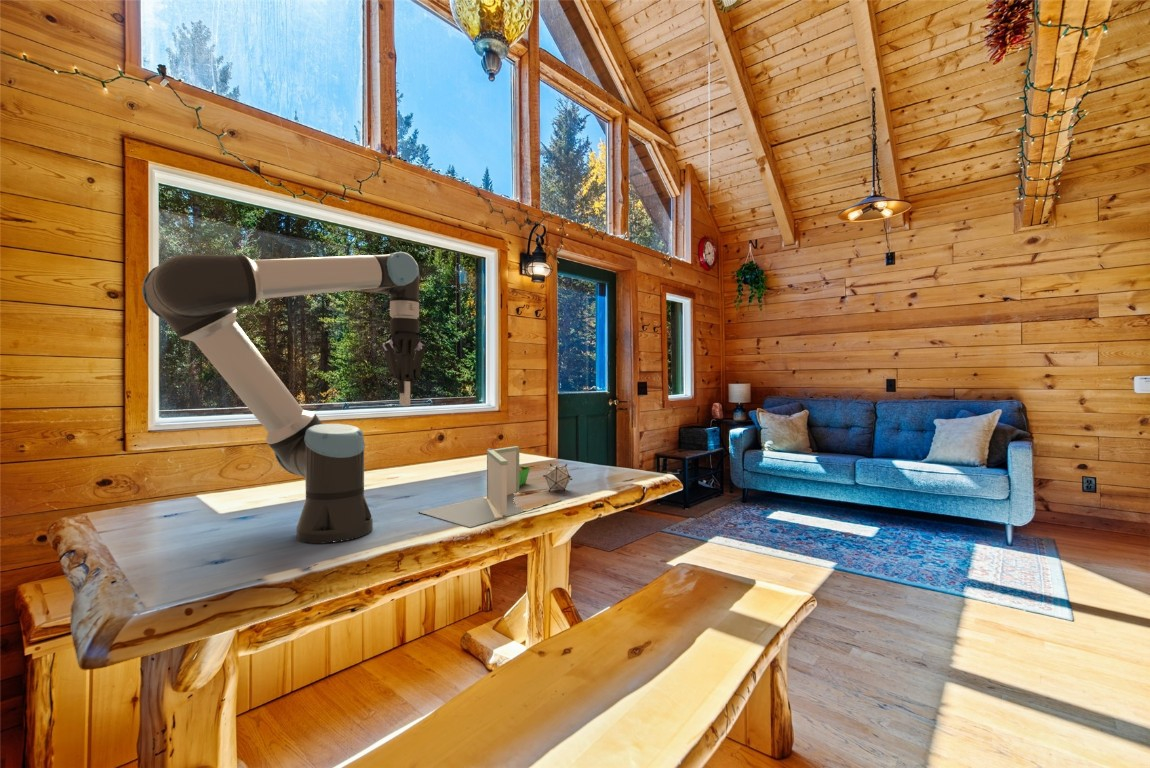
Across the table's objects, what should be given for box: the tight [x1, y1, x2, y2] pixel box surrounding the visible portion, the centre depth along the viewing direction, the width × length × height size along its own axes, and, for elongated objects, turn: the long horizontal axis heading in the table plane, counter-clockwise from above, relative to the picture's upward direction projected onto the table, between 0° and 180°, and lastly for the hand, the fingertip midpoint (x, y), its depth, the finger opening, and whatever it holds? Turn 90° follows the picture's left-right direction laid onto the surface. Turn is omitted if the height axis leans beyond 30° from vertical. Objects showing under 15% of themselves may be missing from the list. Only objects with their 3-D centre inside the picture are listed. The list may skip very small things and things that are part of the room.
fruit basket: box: [519, 465, 531, 487], centre depth 161 cm, size 11×9×11 cm
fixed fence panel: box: [493, 445, 520, 494], centre depth 148 cm, size 9×2×14 cm, turn 141°
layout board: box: [419, 492, 562, 529], centre depth 135 cm, size 32×20×1 cm, turn 141°
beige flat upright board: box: [486, 447, 508, 516], centre depth 134 cm, size 21×2×14 cm, turn 19°
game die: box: [542, 463, 573, 492], centre depth 154 cm, size 9×8×10 cm
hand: (404, 405), depth 139 cm, fingers closed
